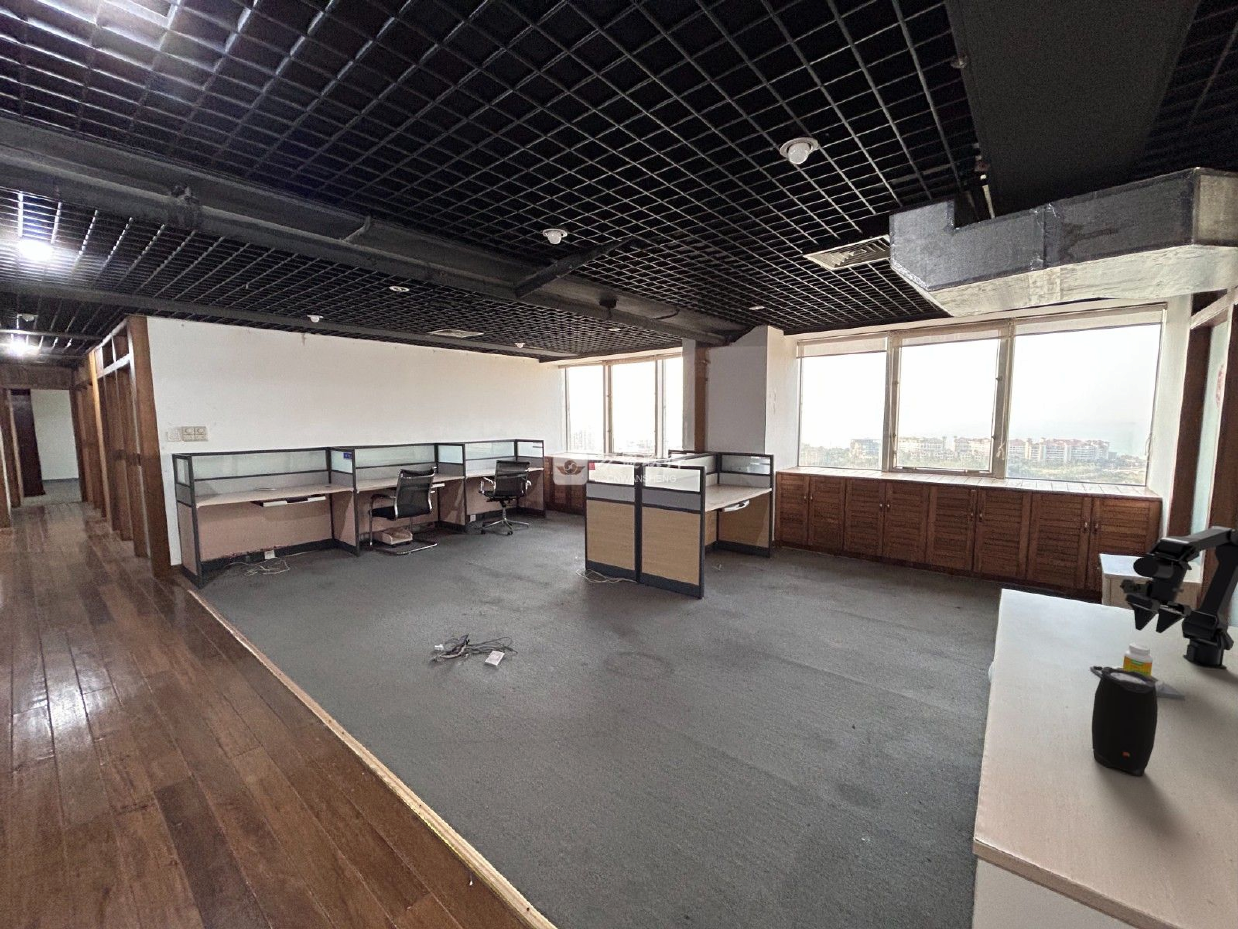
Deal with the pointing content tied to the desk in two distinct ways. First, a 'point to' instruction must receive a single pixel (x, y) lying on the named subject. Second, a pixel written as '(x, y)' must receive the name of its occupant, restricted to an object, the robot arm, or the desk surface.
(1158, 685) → the charging dock
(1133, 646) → the supplement bottle
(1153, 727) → the portable speaker
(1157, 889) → the desk surface
